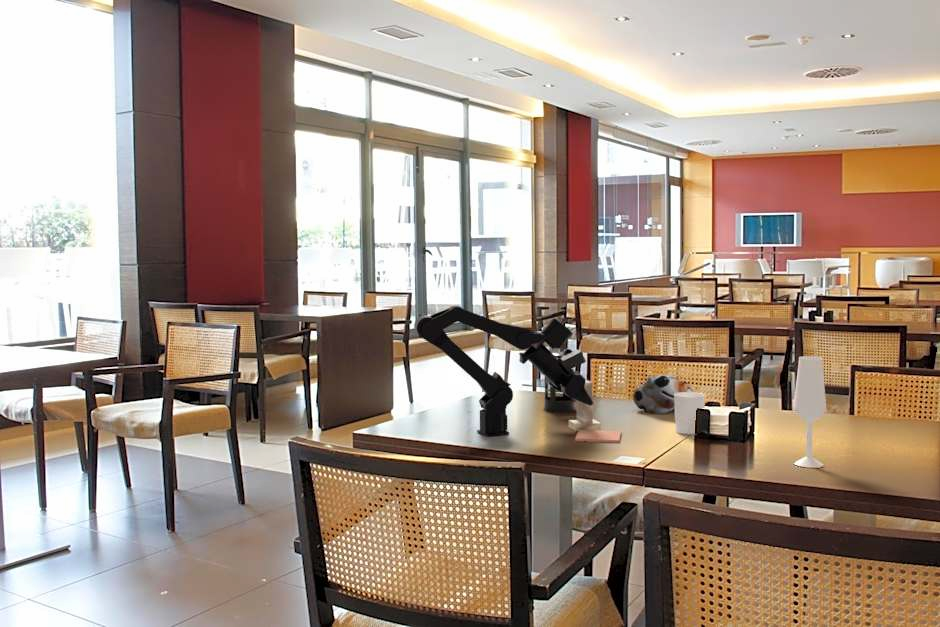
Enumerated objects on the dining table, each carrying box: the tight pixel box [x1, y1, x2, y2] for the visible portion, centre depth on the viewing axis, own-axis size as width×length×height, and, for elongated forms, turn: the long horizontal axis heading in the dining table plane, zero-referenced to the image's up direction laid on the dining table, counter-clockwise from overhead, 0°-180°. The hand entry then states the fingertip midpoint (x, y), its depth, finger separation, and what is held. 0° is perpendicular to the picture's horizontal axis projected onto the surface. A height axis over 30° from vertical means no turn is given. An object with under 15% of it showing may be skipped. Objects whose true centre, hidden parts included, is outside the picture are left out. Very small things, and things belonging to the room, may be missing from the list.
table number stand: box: [568, 379, 602, 433], centre depth 238 cm, size 7×6×13 cm
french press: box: [543, 348, 581, 413], centre depth 266 cm, size 12×9×23 cm
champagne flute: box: [793, 355, 827, 467], centre depth 196 cm, size 7×7×24 cm
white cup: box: [674, 391, 706, 436], centre depth 232 cm, size 8×8×10 cm
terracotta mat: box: [574, 430, 622, 444], centre depth 228 cm, size 11×11×1 cm
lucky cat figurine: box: [632, 374, 693, 415], centre depth 261 cm, size 15×12×14 cm
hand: (586, 401), depth 238 cm, fingers open, 9 cm apart
